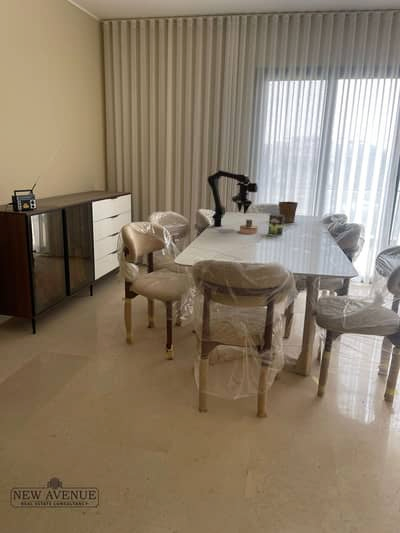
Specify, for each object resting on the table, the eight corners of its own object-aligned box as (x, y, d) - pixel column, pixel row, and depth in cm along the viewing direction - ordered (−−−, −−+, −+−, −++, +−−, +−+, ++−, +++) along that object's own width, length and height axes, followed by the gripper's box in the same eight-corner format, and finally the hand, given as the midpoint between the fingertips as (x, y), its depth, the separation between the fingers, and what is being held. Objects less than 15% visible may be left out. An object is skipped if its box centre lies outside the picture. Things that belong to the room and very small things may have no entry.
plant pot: (275, 222, 325) (277, 203, 321) (277, 219, 340) (279, 201, 336) (295, 224, 321) (297, 204, 316) (296, 220, 336) (298, 202, 331)
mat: (215, 229, 291) (215, 229, 291) (232, 229, 296) (232, 228, 296) (222, 233, 279) (222, 233, 279) (239, 232, 283) (239, 232, 283)
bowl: (237, 231, 289) (238, 226, 288) (252, 230, 293) (252, 225, 292) (244, 234, 278) (244, 229, 277) (259, 233, 282) (260, 228, 281)
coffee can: (280, 236, 274) (281, 216, 270) (266, 234, 278) (267, 215, 274) (284, 233, 282) (285, 214, 278) (270, 232, 287) (272, 213, 283)
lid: (237, 226, 288) (237, 218, 286) (252, 225, 292) (253, 217, 290) (244, 229, 276) (244, 221, 275) (260, 228, 280) (261, 221, 279)
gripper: (228, 190, 295) (227, 211, 299) (238, 193, 278) (237, 215, 282) (241, 190, 298) (240, 210, 303) (252, 193, 281) (251, 214, 286)
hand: (242, 212), depth 293 cm, fingers open, 9 cm apart
